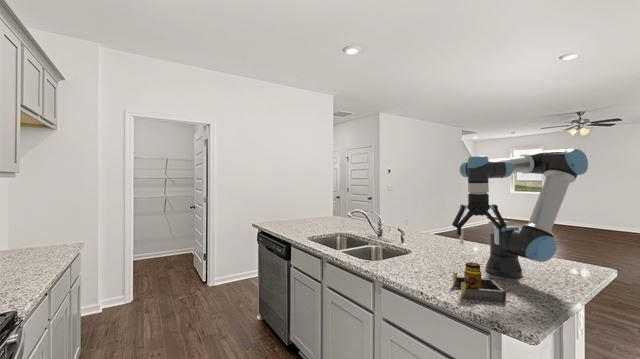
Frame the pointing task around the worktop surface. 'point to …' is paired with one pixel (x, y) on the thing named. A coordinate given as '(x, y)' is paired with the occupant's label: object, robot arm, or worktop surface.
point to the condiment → (472, 275)
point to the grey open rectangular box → (480, 290)
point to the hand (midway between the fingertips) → (478, 243)
